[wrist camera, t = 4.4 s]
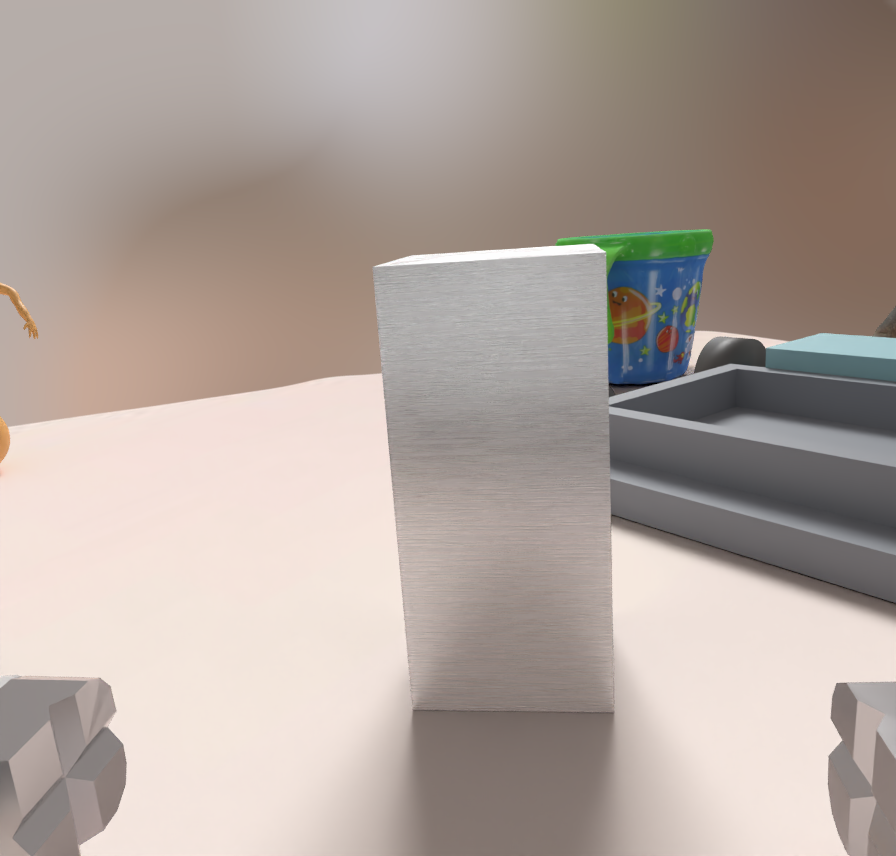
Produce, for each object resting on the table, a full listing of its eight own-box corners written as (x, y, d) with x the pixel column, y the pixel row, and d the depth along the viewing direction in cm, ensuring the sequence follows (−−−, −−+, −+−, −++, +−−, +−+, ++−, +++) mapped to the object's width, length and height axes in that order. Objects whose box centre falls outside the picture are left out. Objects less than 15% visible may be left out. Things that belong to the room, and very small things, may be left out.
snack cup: (617, 355, 67) (616, 230, 64) (744, 362, 60) (748, 224, 58) (513, 393, 55) (506, 243, 53) (656, 407, 49) (656, 236, 46)
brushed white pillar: (614, 712, 19) (606, 252, 17) (412, 710, 20) (373, 266, 17) (601, 613, 24) (593, 244, 21) (438, 614, 25) (410, 255, 22)
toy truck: (963, 624, 22) (979, 470, 21) (505, 481, 37) (501, 386, 36) (1156, 459, 34) (1173, 354, 33) (749, 400, 49) (752, 327, 47)
